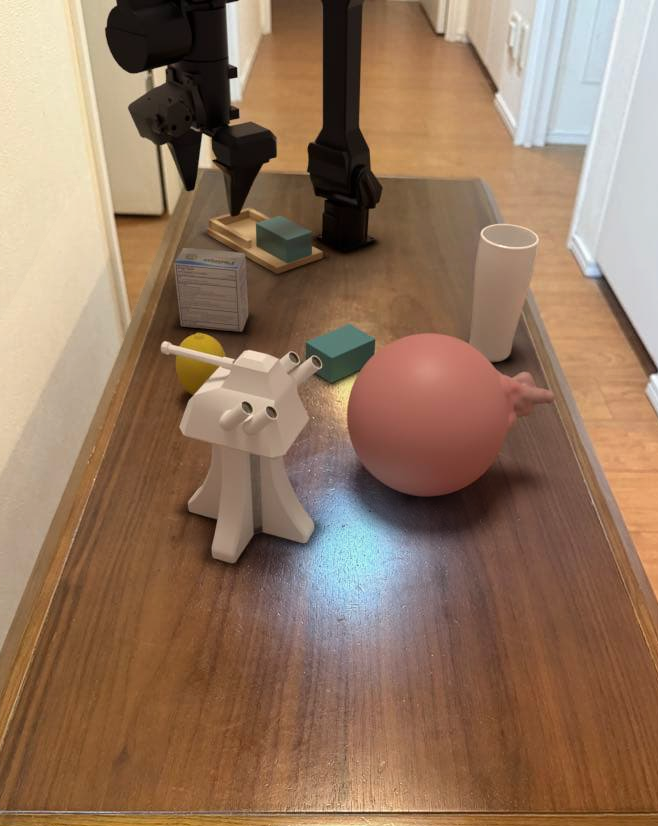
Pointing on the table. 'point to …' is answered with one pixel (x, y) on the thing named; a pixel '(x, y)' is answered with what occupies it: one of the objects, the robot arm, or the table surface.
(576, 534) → the table surface
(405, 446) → the balloon
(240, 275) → the medicine box
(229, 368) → the toy gun turret
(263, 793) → the table surface
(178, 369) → the lemon
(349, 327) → the teal rectangular block
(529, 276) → the drinking glass
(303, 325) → the table surface
